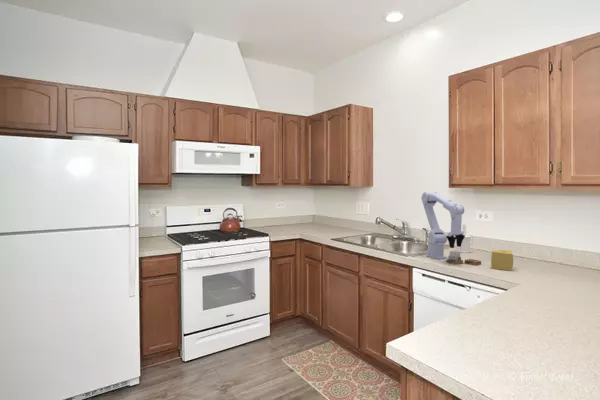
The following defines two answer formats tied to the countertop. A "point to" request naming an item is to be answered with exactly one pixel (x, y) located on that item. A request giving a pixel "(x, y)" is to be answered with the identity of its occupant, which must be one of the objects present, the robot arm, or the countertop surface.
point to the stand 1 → (454, 261)
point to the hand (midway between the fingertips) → (455, 247)
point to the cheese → (502, 260)
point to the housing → (454, 256)
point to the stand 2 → (472, 262)
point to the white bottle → (465, 242)
